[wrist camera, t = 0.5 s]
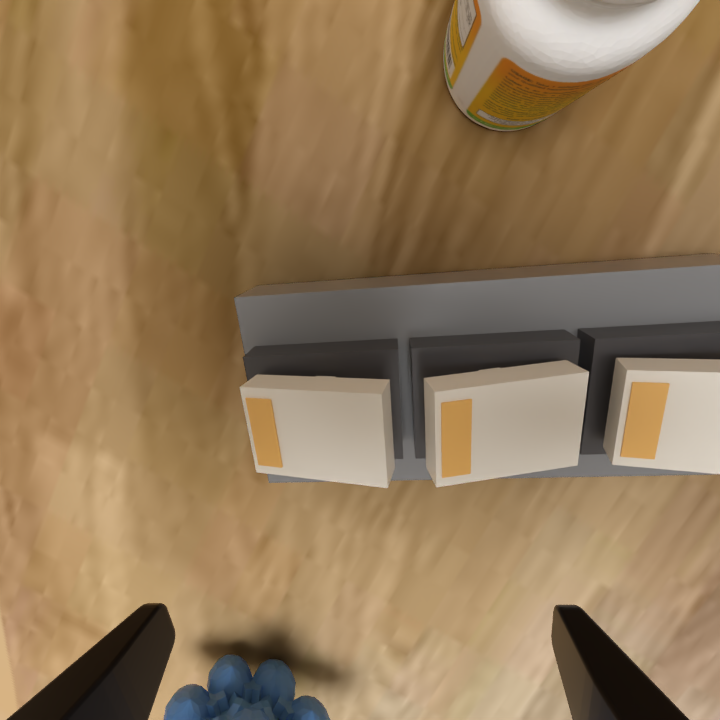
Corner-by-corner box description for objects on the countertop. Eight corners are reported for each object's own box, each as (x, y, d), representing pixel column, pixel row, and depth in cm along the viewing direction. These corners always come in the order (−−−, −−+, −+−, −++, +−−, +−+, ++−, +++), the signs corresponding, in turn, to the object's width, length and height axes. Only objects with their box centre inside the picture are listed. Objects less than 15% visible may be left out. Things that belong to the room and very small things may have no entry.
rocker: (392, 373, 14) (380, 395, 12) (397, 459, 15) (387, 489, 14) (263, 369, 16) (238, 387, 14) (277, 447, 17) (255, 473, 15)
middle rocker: (557, 355, 14) (590, 372, 13) (548, 440, 16) (578, 466, 14) (419, 372, 14) (435, 393, 12) (421, 458, 15) (436, 488, 13)
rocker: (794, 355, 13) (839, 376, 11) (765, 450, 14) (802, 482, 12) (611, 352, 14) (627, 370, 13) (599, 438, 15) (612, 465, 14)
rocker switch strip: (711, 253, 17) (816, 265, 13) (672, 437, 20) (746, 495, 16) (257, 285, 19) (219, 304, 15) (284, 448, 22) (259, 502, 18)
